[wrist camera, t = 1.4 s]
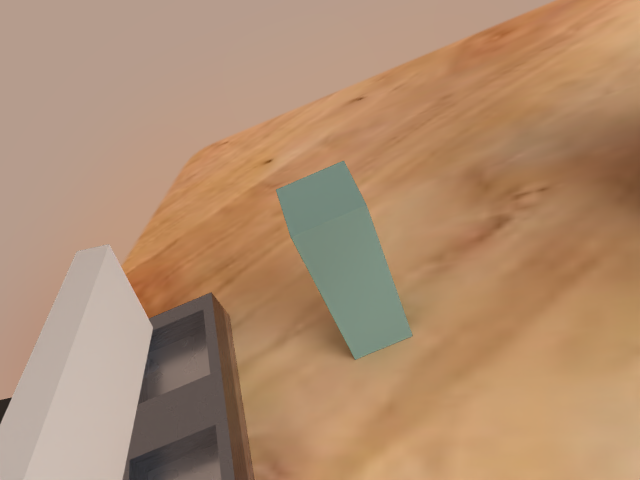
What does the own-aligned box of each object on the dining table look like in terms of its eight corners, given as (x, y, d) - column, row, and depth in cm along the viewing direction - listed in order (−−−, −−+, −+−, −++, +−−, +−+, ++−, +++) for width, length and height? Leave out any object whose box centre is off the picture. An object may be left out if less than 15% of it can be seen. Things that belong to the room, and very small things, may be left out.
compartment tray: (145, 350, 40) (123, 329, 38) (229, 315, 40) (211, 292, 38) (145, 607, 28) (112, 596, 26) (266, 558, 27) (242, 544, 25)
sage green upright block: (338, 313, 37) (275, 189, 28) (391, 291, 36) (343, 160, 28) (355, 359, 34) (290, 237, 26) (412, 336, 34) (366, 204, 25)
